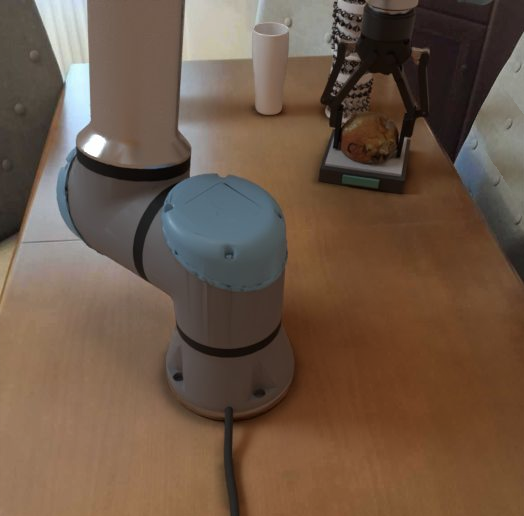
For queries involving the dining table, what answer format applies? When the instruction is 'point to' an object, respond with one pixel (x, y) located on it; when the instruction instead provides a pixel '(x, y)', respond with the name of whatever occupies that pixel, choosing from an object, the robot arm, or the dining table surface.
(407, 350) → the dining table surface
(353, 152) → the bread roll
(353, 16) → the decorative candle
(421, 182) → the dining table surface
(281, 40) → the drinking glass
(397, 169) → the kitchen scale
